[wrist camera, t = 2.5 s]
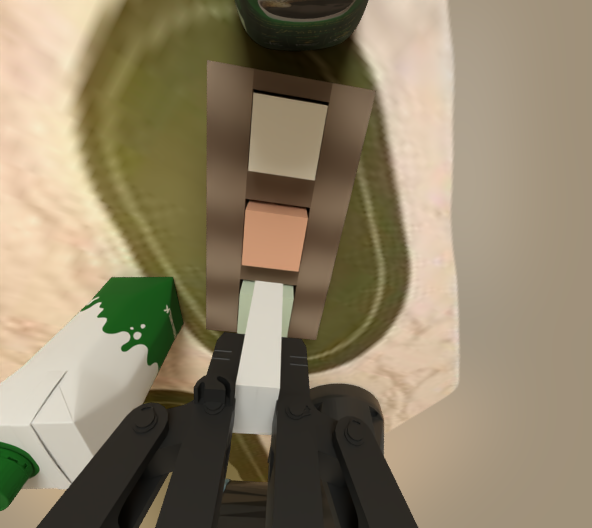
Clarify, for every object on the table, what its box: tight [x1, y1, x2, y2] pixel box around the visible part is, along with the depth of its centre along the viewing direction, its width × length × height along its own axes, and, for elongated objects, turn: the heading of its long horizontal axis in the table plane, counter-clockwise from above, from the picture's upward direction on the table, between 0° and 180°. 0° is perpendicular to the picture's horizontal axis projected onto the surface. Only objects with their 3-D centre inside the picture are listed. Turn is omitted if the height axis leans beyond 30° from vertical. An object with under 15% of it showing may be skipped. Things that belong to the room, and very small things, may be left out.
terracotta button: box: [242, 199, 308, 272], centre depth 25 cm, size 5×5×4 cm
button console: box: [206, 60, 376, 340], centre depth 28 cm, size 24×12×5 cm, turn 171°
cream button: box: [248, 93, 328, 181], centre depth 22 cm, size 5×5×4 cm
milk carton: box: [0, 277, 183, 511], centre depth 26 cm, size 9×9×20 cm
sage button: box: [237, 279, 294, 337], centre depth 29 cm, size 5×5×4 cm
